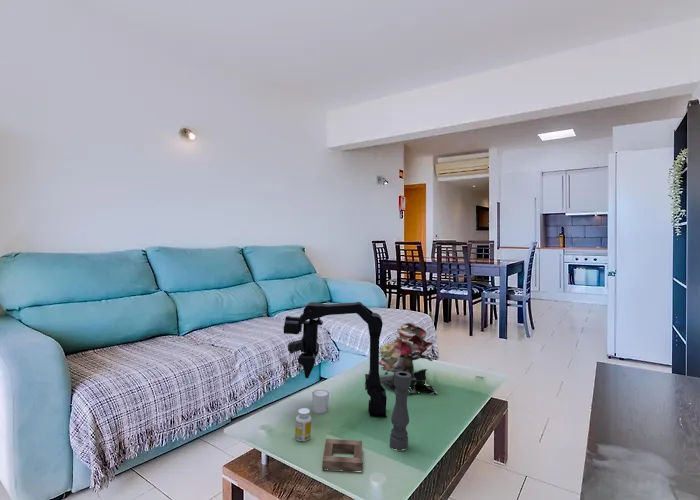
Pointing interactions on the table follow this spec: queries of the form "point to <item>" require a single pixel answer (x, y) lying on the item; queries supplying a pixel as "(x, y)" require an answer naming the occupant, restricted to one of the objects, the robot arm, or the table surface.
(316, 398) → the shot glass
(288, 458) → the table surface
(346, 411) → the table surface
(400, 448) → the candle holder
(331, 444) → the socket block
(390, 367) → the rose bouquet
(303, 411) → the supplement bottle
